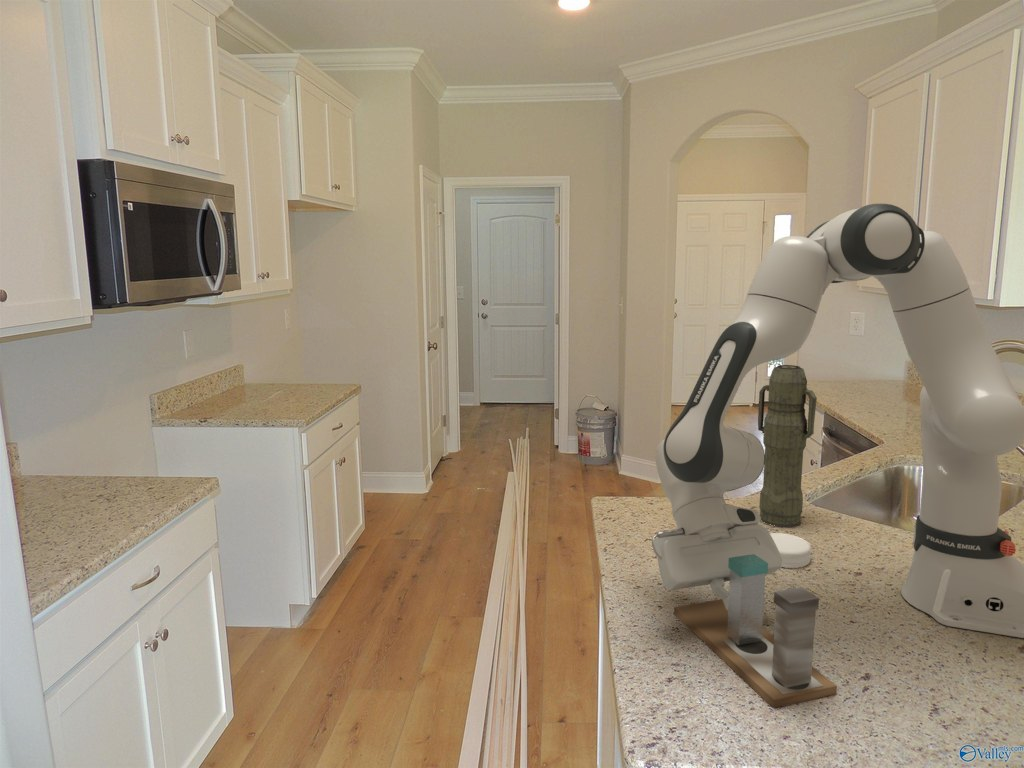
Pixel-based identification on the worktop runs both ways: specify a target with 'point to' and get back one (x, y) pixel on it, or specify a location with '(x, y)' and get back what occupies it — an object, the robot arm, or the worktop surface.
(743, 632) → the teal-lidded container
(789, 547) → the white flat disc
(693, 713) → the worktop surface
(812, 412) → the thermos
